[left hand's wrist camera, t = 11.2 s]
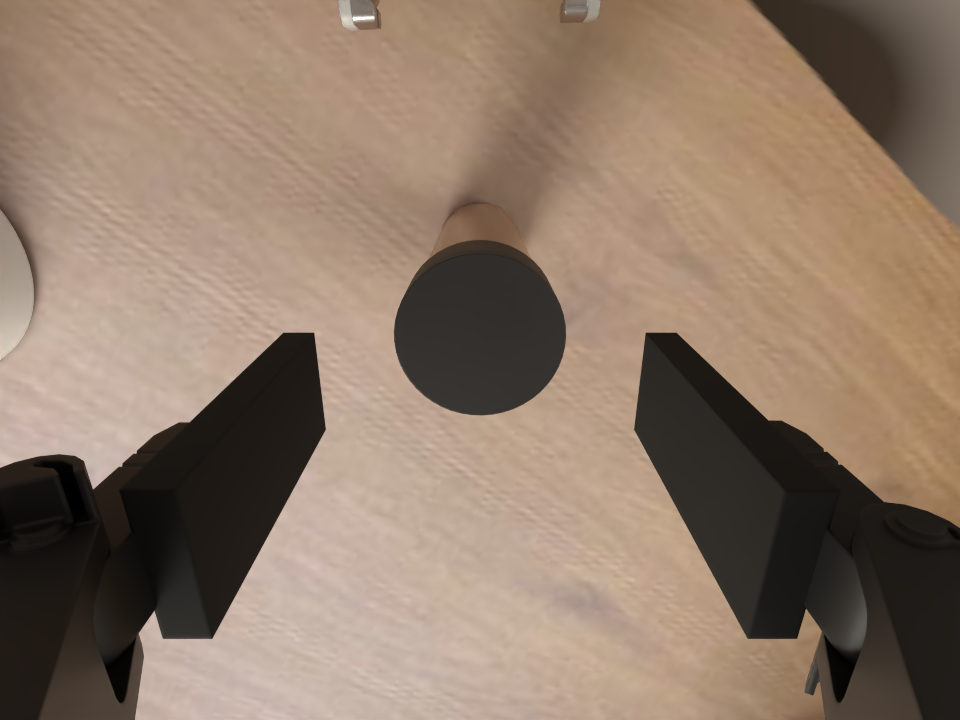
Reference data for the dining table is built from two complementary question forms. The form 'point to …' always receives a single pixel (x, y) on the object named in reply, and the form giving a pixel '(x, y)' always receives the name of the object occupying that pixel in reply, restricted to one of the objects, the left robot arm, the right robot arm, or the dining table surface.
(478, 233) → the jar
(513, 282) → the lid
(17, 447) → the dining table surface
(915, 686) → the left robot arm
